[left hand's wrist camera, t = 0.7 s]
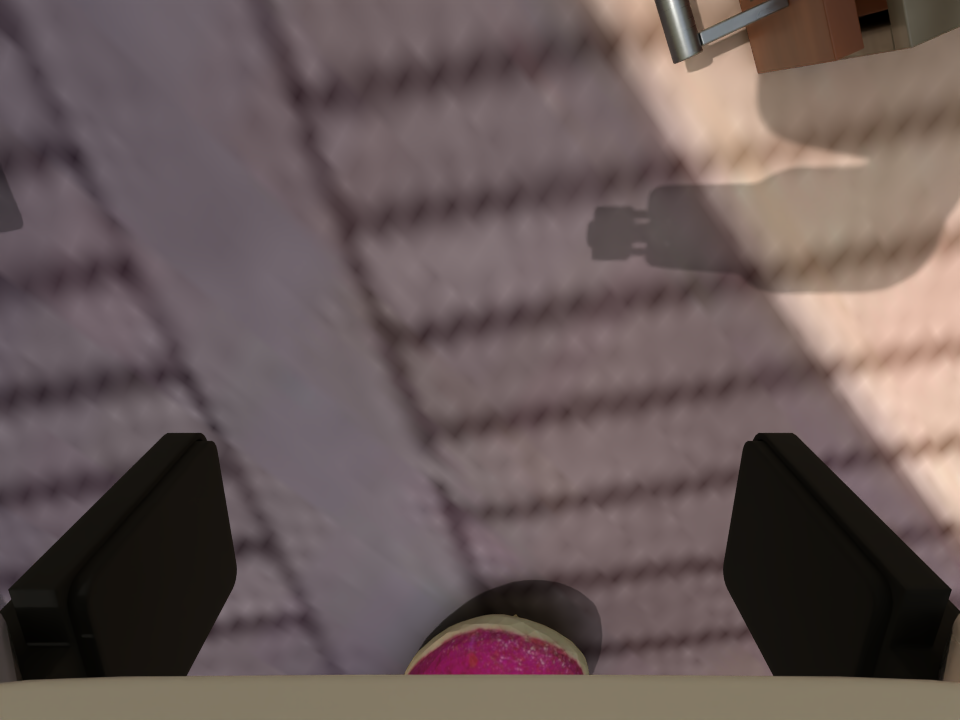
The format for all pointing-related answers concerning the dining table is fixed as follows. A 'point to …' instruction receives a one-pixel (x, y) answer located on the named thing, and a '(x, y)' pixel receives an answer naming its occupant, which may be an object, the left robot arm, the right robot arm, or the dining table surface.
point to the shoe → (498, 650)
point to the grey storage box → (906, 25)
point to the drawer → (775, 30)
